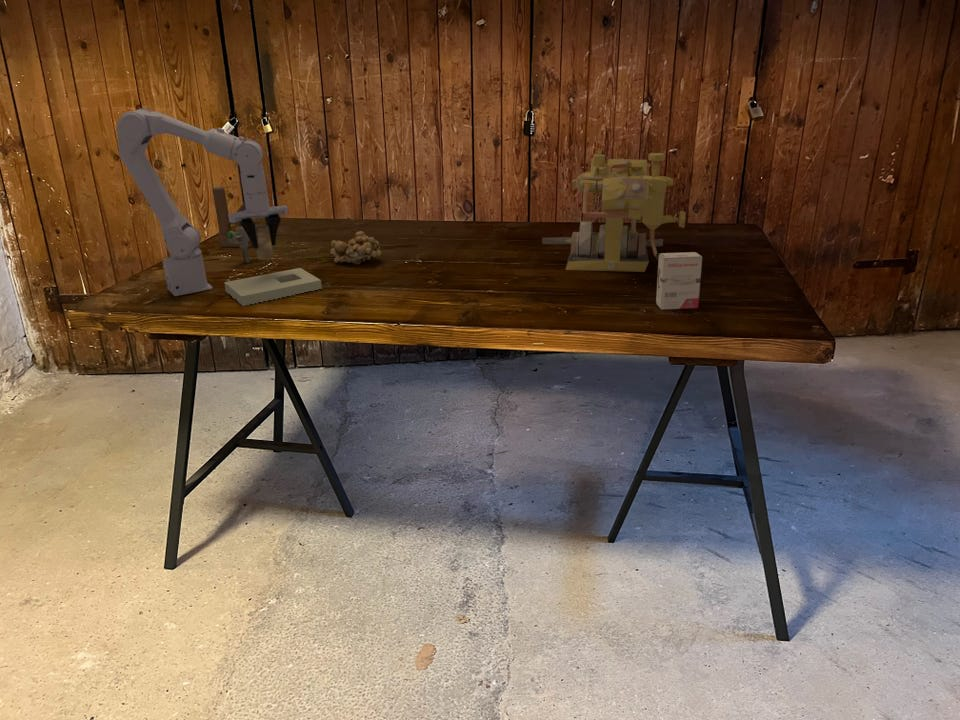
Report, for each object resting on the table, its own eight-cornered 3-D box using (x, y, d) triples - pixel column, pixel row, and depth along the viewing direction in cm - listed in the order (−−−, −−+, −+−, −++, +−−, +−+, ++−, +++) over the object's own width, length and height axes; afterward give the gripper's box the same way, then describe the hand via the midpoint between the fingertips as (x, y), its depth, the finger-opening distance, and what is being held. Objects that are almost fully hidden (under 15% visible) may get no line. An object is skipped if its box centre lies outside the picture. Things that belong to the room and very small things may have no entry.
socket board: (243, 306, 170) (241, 296, 169) (225, 291, 181) (224, 282, 180) (322, 289, 180) (320, 280, 179) (301, 276, 191) (300, 267, 190)
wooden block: (252, 247, 222) (243, 188, 214) (219, 247, 223) (209, 188, 216) (257, 244, 225) (248, 186, 218) (224, 244, 226) (214, 186, 219)
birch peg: (260, 260, 180) (255, 229, 177) (255, 257, 183) (250, 226, 180) (276, 257, 183) (271, 226, 179) (270, 254, 186) (265, 223, 182)
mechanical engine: (683, 288, 173) (695, 160, 161) (532, 283, 180) (533, 160, 168) (676, 246, 208) (685, 139, 196) (550, 244, 215) (551, 140, 203)
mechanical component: (229, 266, 202) (223, 231, 198) (255, 257, 211) (250, 223, 207) (237, 267, 201) (231, 232, 197) (263, 258, 209) (258, 224, 205)
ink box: (691, 301, 165) (696, 250, 160) (698, 308, 160) (703, 256, 155) (654, 302, 164) (657, 252, 160) (660, 310, 160) (664, 258, 155)
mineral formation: (368, 252, 212) (395, 259, 201) (329, 268, 205) (354, 276, 194) (361, 226, 208) (387, 231, 197) (320, 242, 202) (346, 248, 191)
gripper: (230, 198, 170) (240, 254, 175) (289, 190, 177) (297, 244, 182) (222, 194, 175) (231, 249, 180) (279, 186, 182) (287, 239, 188)
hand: (264, 246), depth 182 cm, fingers closed on birch peg, 4 cm apart
